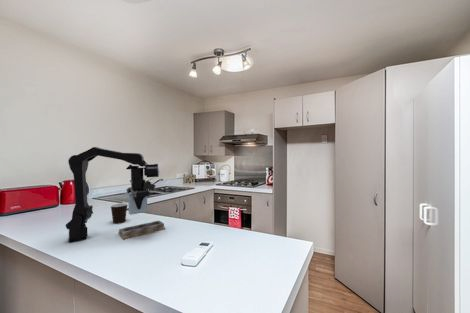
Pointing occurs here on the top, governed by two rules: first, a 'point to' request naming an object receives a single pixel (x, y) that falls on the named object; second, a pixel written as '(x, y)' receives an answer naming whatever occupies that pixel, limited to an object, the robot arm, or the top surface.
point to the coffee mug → (119, 213)
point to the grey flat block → (133, 207)
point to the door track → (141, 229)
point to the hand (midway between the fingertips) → (138, 208)
